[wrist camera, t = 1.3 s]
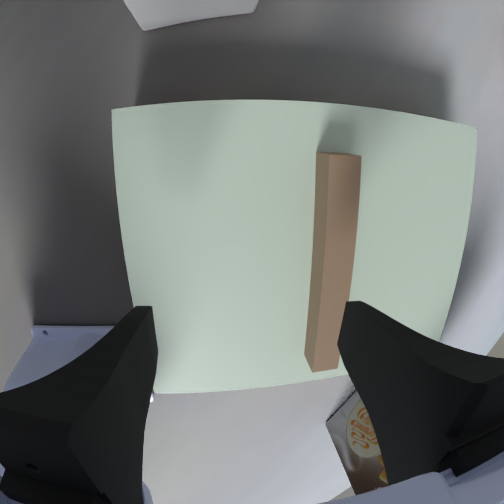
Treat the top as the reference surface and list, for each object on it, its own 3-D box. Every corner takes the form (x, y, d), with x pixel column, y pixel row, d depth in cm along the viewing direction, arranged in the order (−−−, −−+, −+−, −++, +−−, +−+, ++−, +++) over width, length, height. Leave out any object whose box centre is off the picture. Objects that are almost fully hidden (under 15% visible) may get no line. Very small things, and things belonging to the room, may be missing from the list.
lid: (155, 385, 20) (152, 413, 17) (116, 110, 14) (100, 106, 11) (430, 348, 22) (446, 366, 20) (469, 127, 16) (496, 130, 14)
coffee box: (363, 429, 31) (418, 539, 17) (323, 422, 30) (375, 553, 15) (416, 373, 29) (496, 482, 14) (379, 359, 27) (468, 492, 12)
